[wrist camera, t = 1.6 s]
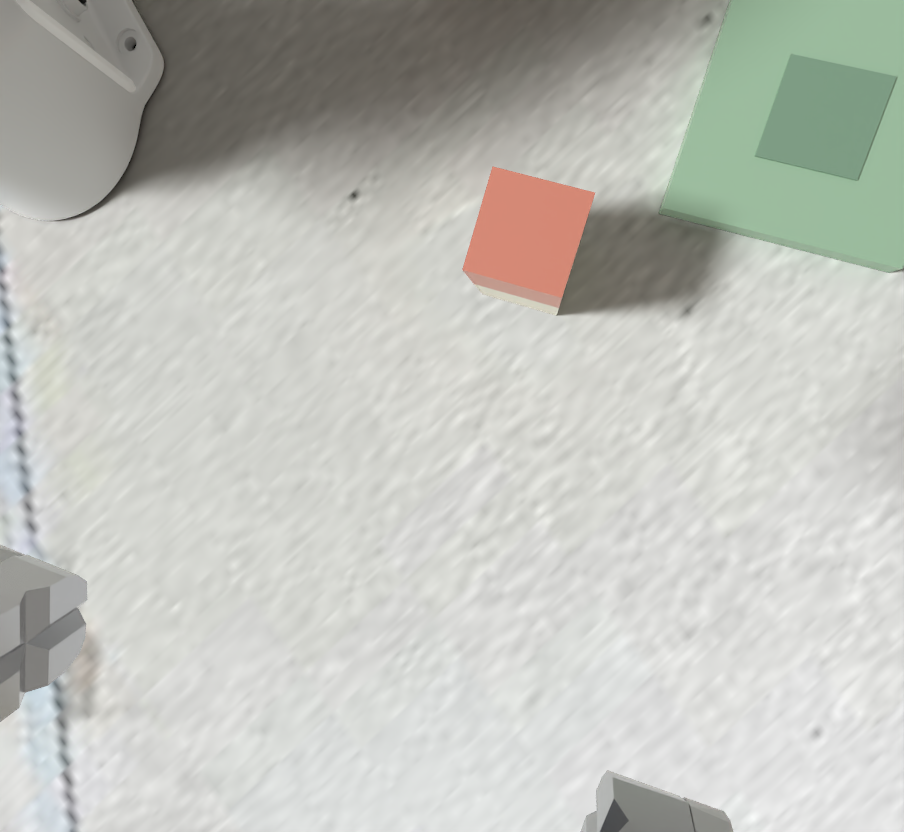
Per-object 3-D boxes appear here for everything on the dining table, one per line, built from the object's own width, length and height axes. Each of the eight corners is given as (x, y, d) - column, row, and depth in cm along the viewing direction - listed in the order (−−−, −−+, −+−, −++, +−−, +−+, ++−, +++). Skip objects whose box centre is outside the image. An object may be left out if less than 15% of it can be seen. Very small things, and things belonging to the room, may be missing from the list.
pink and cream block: (482, 294, 35) (462, 269, 26) (505, 218, 34) (492, 166, 25) (556, 315, 34) (561, 297, 25) (581, 238, 34) (595, 192, 25)
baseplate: (658, 213, 33) (663, 207, 31) (736, -19, 31) (744, -36, 30) (888, 272, 31) (904, 268, 30) (984, 31, 29) (1004, 16, 28)
